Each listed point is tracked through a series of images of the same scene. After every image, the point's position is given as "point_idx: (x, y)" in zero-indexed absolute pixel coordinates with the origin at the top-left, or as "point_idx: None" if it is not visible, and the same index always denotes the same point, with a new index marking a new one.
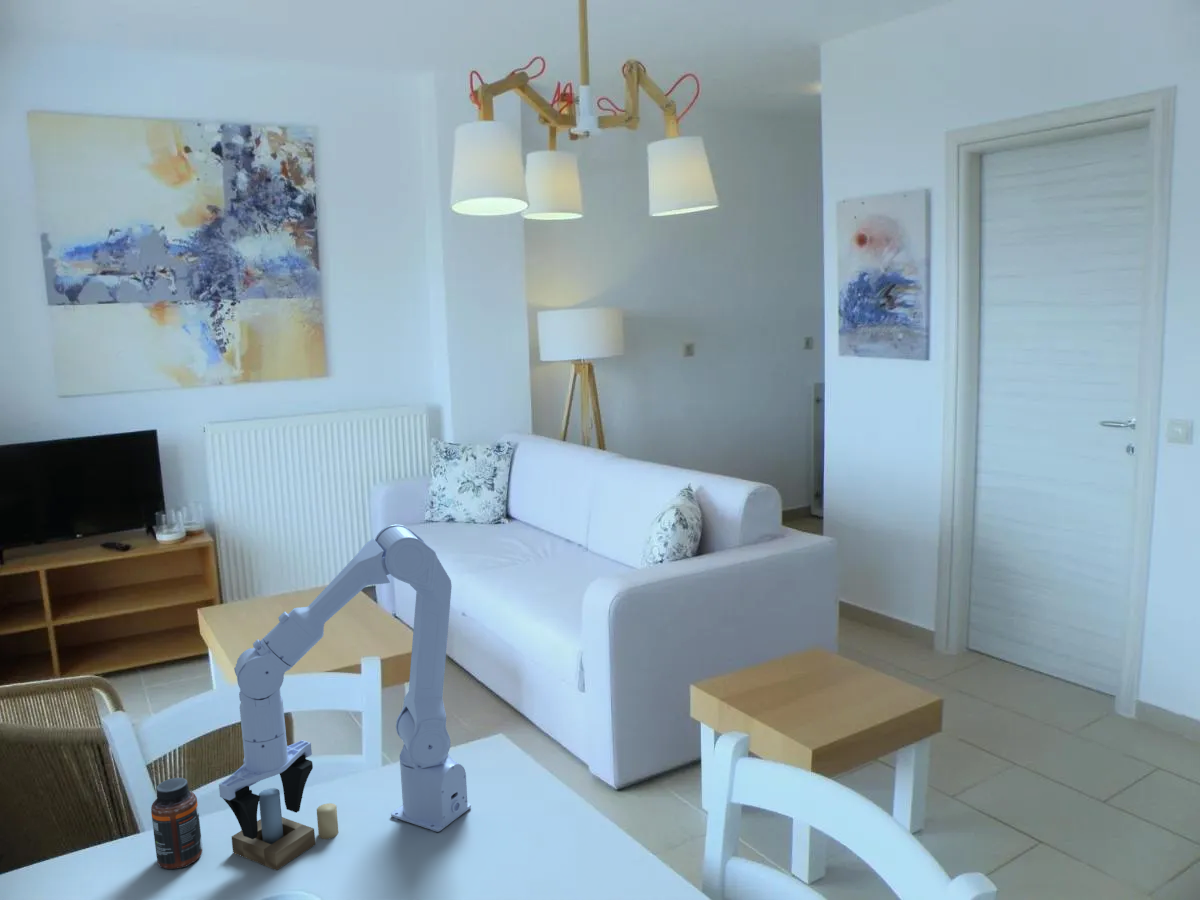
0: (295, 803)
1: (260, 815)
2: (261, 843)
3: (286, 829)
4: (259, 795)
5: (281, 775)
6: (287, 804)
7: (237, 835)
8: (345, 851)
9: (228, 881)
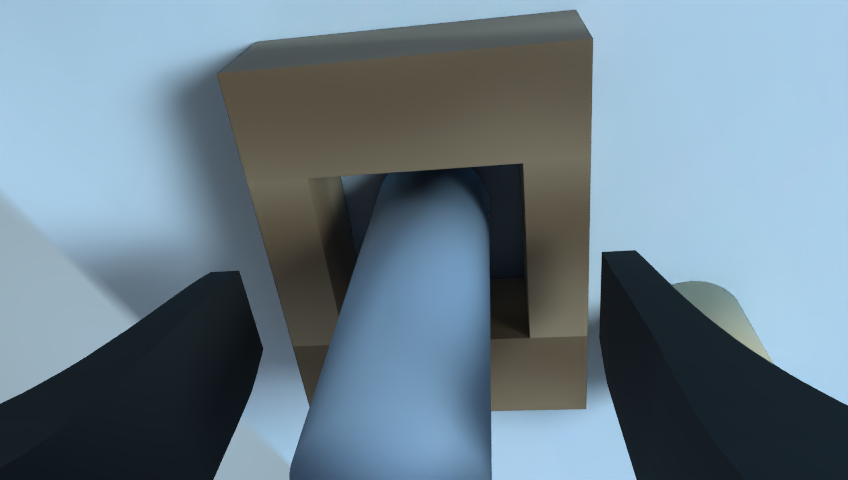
0: (612, 386)
1: (339, 318)
2: (314, 295)
3: (525, 250)
4: (307, 450)
5: (690, 437)
6: (607, 291)
7: (252, 101)
8: (600, 465)
9: (135, 246)
